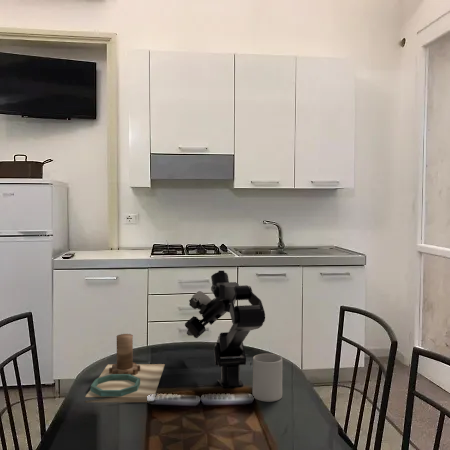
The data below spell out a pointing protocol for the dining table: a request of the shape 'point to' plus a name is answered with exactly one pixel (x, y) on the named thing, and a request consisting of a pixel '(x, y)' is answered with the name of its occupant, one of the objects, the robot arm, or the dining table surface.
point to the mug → (267, 377)
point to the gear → (124, 356)
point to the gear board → (127, 384)
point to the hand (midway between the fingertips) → (195, 327)
